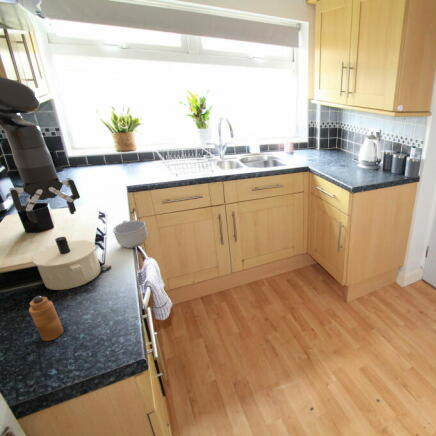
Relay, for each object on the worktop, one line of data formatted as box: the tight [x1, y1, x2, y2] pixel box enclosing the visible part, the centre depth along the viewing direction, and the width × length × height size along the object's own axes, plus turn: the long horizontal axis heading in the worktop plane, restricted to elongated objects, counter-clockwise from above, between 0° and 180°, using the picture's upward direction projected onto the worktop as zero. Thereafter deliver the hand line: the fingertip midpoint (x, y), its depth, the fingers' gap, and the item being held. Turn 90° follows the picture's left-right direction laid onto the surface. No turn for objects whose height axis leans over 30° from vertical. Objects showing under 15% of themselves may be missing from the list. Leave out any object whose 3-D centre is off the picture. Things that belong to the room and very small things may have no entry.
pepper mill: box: [28, 295, 65, 342], centre depth 78 cm, size 4×4×12 cm
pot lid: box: [32, 236, 97, 267], centre depth 99 cm, size 16×16×6 cm
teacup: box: [112, 219, 149, 249], centre depth 123 cm, size 14×11×8 cm
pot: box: [36, 250, 101, 291], centre depth 102 cm, size 15×20×8 cm
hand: (54, 217), depth 93 cm, fingers open, 8 cm apart
